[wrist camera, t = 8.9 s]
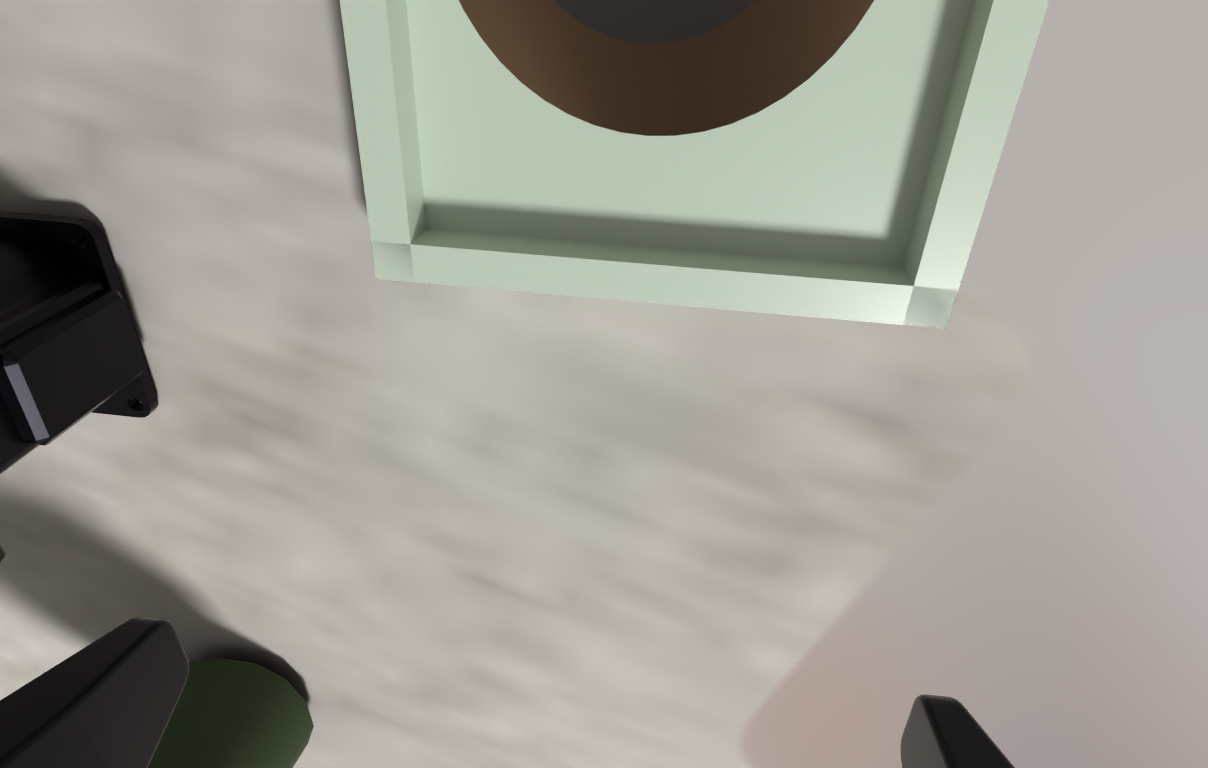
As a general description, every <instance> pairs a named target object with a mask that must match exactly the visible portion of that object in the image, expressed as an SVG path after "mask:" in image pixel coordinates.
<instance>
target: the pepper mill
mask: <svg viewBox="0 0 1208 768" xmlns="http://www.w3.org/2000/svg"><path fill="white" fill-rule="evenodd" d="M459 2H460V4H461V6H462V8H463V10H464V12H465V13H466V15H467V16H468V18H469V20H470V21H471V23H472V24H473V26H474V28H475V29H476V31H477V33H478V34H479V36H480V37H481V38H482V40H483V41H484V42H485V44H486V45H487V46H488V47H489V49H490V50H491V51H492V52H493V54H494V55H495V56H496V57H497V59H498V60H499V61H500V62H501V63H502V64H503V65H504V66H505V67H506V68H507V69H508V70H509V71H510V72H511V73H512V74H513V75H514V76H515V77H516V78H517V79H518V80H519V81H520V82H521V83H522V84H524V85H525V86H526V87H528V88H529V89H530V90H531V91H533V92H534V93H535V94H537V95H538V96H539V97H541V98H542V99H543V100H545V101H546V102H548V103H550V104H551V105H553V106H555V107H557V108H558V109H560V110H562V111H563V112H565V113H567V114H569V115H571V116H573V117H576V118H578V119H581V120H583V121H585V122H588V123H590V124H592V125H595V126H599V127H603V128H606V129H610V130H614V131H617V132H622V133H629V134H637V135H645V136H677V135H684V134H691V133H698V132H704V131H708V130H711V129H715V128H719V127H722V126H726V125H729V124H732V123H735V122H737V121H739V120H742V119H744V118H746V117H749V116H751V115H753V114H756V113H758V112H760V111H762V110H763V109H765V108H767V107H768V106H770V105H772V104H774V103H775V102H777V101H779V100H781V99H782V98H784V97H785V96H787V95H788V94H789V93H791V92H792V91H793V90H795V89H796V88H797V87H799V86H800V85H801V84H803V83H804V82H805V81H807V80H808V79H809V78H810V77H811V76H812V75H814V74H815V73H816V72H817V71H818V70H819V69H820V68H821V67H822V66H823V65H824V64H825V63H826V62H827V61H828V60H829V59H830V58H831V57H832V56H833V55H834V54H835V53H836V52H837V51H838V49H839V48H840V47H841V46H842V45H843V43H844V42H845V41H846V40H847V39H848V37H849V36H850V35H851V34H852V33H853V31H854V30H855V29H856V27H857V26H858V24H859V23H860V21H861V20H862V18H863V17H864V15H865V14H866V12H867V11H868V9H869V8H870V6H871V5H872V3H873V2H874V0H459Z"/></svg>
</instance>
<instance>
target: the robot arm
mask: <svg viewBox="0 0 1208 768" xmlns="http://www.w3.org/2000/svg"><path fill="white" fill-rule="evenodd" d="M80 233H81V234H82V235H83V236H85V238H86V240H87V242H86V241H85V240H83V239H82V237H81V235H80ZM137 399H138V400H139V401H140V402H139V401H138V400H137ZM157 406H158V398H157V395H156V392H155V389H154V386H153V383H152V380H151V377H150V373H149V370H148V367H147V364H146V361H145V358H144V355H143V352H142V349H141V346H140V343H139V340H138V337H137V333H136V330H135V327H134V324H133V321H132V318H131V315H130V312H129V309H128V306H127V303H126V300H125V297H124V293H123V290H122V287H121V284H120V281H119V278H118V275H117V272H116V269H115V266H114V263H113V260H112V257H111V254H110V250H109V247H108V244H107V241H106V238H105V236H104V234H103V232H102V230H101V229H100V228H99V227H98V226H97V225H96V224H95V223H93V222H92V221H90V220H87V219H83V218H72V217H60V216H48V215H36V214H24V213H12V212H0V474H1V473H2V472H4V471H5V470H6V469H8V468H9V467H10V466H12V465H13V464H14V463H16V462H17V461H18V460H20V459H21V458H23V457H24V456H25V455H27V454H28V453H29V452H31V451H32V450H33V449H35V448H36V447H37V446H39V445H47V444H49V443H51V442H52V441H53V440H55V439H56V438H57V437H58V436H60V435H61V434H62V433H64V432H65V431H66V430H68V429H69V428H70V427H72V426H73V425H74V424H76V423H77V422H78V421H80V420H81V419H82V418H84V417H85V416H86V415H88V414H89V413H90V412H93V413H102V414H112V415H121V416H130V417H146V416H148V415H149V414H150V413H151V412H153V411H154V410H155V409H156V408H157ZM5 554H6V553H5V551H4V550H3V548H2V547H1V545H0V562H1V560H2V559H3V558H4V556H5ZM188 674H189V661H188V658H187V656H186V653H185V651H184V649H183V646H182V644H181V642H180V639H179V637H178V635H177V632H176V630H175V628H174V626H173V624H172V623H171V622H170V621H168V620H166V619H159V618H149V617H137V618H133V619H131V620H129V621H127V622H125V623H123V624H122V625H120V626H119V627H117V628H115V629H114V630H112V631H111V632H109V633H107V634H106V635H104V636H103V637H101V638H99V639H98V640H96V641H95V642H93V643H91V644H90V645H88V646H87V647H85V648H83V649H82V650H80V651H79V652H77V653H75V654H74V655H72V656H71V657H69V658H67V659H66V660H64V661H63V662H61V663H60V664H58V665H56V666H55V667H53V668H52V669H50V670H48V671H47V672H45V673H44V674H42V675H40V676H39V677H37V678H36V679H34V680H32V681H31V682H29V683H28V684H26V685H24V686H23V687H21V688H20V689H18V690H16V691H15V692H13V693H12V694H10V695H8V696H7V697H5V698H4V699H2V700H0V768H148V766H149V764H150V761H151V759H152V757H153V755H154V753H155V750H156V748H157V746H158V744H159V741H160V739H161V737H162V735H163V733H164V730H165V728H166V726H167V724H168V722H169V719H170V717H171V715H172V713H173V711H174V708H175V706H176V704H177V702H178V700H179V697H180V695H181V693H182V691H183V689H184V686H185V684H186V681H187V678H188ZM901 762H902V768H1015V767H1014V766H1013V765H1012V764H1011V763H1010V761H1009V760H1008V759H1007V758H1006V757H1005V755H1004V754H1003V753H1002V752H1001V750H1000V749H999V748H998V747H997V746H996V744H995V743H994V742H993V741H992V740H991V739H990V737H989V736H988V735H987V734H986V733H985V731H984V730H983V729H982V728H981V726H980V725H979V724H978V723H977V722H976V720H975V719H974V718H973V717H972V716H971V714H970V713H969V712H968V711H967V709H966V708H965V707H964V706H963V705H962V704H961V703H960V702H959V701H958V700H956V699H954V698H951V697H945V696H935V695H920V696H918V697H917V698H916V699H915V701H914V704H913V707H912V709H911V713H910V715H909V718H908V721H907V724H906V727H905V729H904V732H903V735H902V739H901Z"/></svg>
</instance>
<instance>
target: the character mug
mask: <svg viewBox="0 0 1208 768" xmlns="http://www.w3.org/2000/svg"><path fill="white" fill-rule="evenodd" d="M312 729H313V722H312V719H311V716H310V713H309V709H308V706H307V703H306V701H305V700H304V699H303V698H302V697H301V696H300V695H299V693H298V692H297V691H296V690H295V689H294V688H293V687H292V685H291V684H290V683H289V682H288V681H287V680H286V679H285V678H283V677H281V676H279V675H277V674H275V673H273V672H271V671H269V670H267V669H265V668H264V667H262V666H260V665H258V664H256V663H252V662H245V661H238V660H231V659H223V658H216V659H210V660H205V661H199V662H194V663H189V674H188V678H187V681H186V684H185V686H184V689H183V691H182V693H181V695H180V697H179V700H178V702H177V704H176V706H175V708H174V711H173V713H172V715H171V717H170V719H169V722H168V724H167V726H166V728H165V730H164V733H163V735H162V737H161V739H160V741H159V744H158V746H157V748H156V750H155V753H154V755H153V757H152V759H151V761H150V764H149V766H148V768H293V766H294V765H295V763H296V761H297V760H298V758H299V757H300V755H301V753H302V752H303V750H304V749H305V747H306V745H307V744H308V741H309V738H310V735H311V732H312Z"/></svg>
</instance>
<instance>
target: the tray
mask: <svg viewBox="0 0 1208 768" xmlns="http://www.w3.org/2000/svg"><path fill="white" fill-rule="evenodd" d="M1048 3H1049V0H874V2H873V3H872V5H871V6H870V8H869V9H868V11H867V12H866V14H865V15H864V17H863V18H862V20H861V21H860V23H859V24H858V26H857V27H856V29H855V30H854V31H853V33H852V34H851V35H850V36H849V37H848V39H847V40H846V41H845V42H844V43H843V45H842V46H841V47H840V48H839V49H838V51H837V52H836V53H835V54H834V55H833V56H832V57H831V58H830V59H829V60H828V61H827V62H826V63H825V64H824V65H823V66H822V67H821V68H820V69H819V70H818V71H817V72H816V73H815V74H814V75H812V76H811V77H810V78H809V79H808V80H807V81H805V82H804V83H803V84H801V85H800V86H799V87H797V88H796V89H795V90H793V91H792V92H791V93H789V94H788V95H787V96H785V97H784V98H782V99H781V100H779V101H777V102H775V103H774V104H772V105H770V106H768V107H767V108H765V109H763V110H762V111H760V112H758V113H756V114H753V115H751V116H749V117H746V118H744V119H742V120H739V121H737V122H735V123H732V124H729V125H726V126H722V127H719V128H715V129H711V130H708V131H704V132H698V133H691V134H684V135H677V136H645V135H637V134H629V133H622V132H617V131H614V130H610V129H606V128H603V127H599V126H595V125H592V124H590V123H588V122H585V121H583V120H581V119H578V118H576V117H573V116H571V115H569V114H567V113H565V112H563V111H562V110H560V109H558V108H557V107H555V106H553V105H551V104H550V103H548V102H546V101H545V100H543V99H542V98H541V97H539V96H538V95H537V94H535V93H534V92H533V91H531V90H530V89H529V88H528V87H526V86H525V85H524V84H522V83H521V82H520V81H519V80H518V79H517V78H516V77H515V76H514V75H513V74H512V73H511V72H510V71H509V70H508V69H507V68H506V67H505V66H504V65H503V64H502V63H501V62H500V61H499V60H498V59H497V57H496V56H495V55H494V54H493V52H492V51H491V50H490V49H489V47H488V46H487V45H486V44H485V42H484V41H483V40H482V38H481V37H480V36H479V34H478V33H477V31H476V29H475V28H474V26H473V24H472V23H471V21H470V20H469V18H468V16H467V15H466V13H465V12H464V10H463V8H462V6H461V4H460V2H459V0H340V7H341V15H342V22H343V30H344V38H345V45H346V53H347V61H348V69H349V76H350V84H351V92H352V99H353V107H354V115H355V122H356V130H357V138H358V145H359V153H360V161H361V168H362V176H363V184H364V192H365V199H366V207H367V215H368V222H369V230H370V238H371V245H372V253H373V261H374V268H375V276H376V279H382V280H394V281H405V282H417V283H428V284H440V285H451V286H463V287H474V288H486V289H497V290H509V291H520V292H531V293H543V294H554V295H566V296H577V297H589V298H600V299H612V300H623V301H635V302H646V303H657V304H669V305H680V306H692V307H703V308H715V309H726V310H738V311H749V312H761V313H772V314H784V315H795V316H806V317H818V318H829V319H841V320H852V321H864V322H875V323H887V324H898V325H910V326H921V327H932V328H944V329H946V327H947V324H948V321H949V318H950V315H951V311H952V308H953V305H954V302H955V299H956V296H957V292H958V289H959V286H960V283H961V280H962V276H963V273H964V270H965V267H966V264H967V260H968V257H969V254H970V251H971V248H972V245H973V241H974V238H975V235H976V232H977V229H978V226H979V222H980V219H981V216H982V213H983V210H984V206H985V203H986V200H987V197H988V194H989V191H990V187H991V184H992V181H993V178H994V174H995V171H996V168H997V165H998V162H999V159H1000V156H1001V152H1002V149H1003V146H1004V143H1005V140H1006V137H1007V133H1008V130H1009V127H1010V124H1011V120H1012V117H1013V114H1014V111H1015V108H1016V104H1017V101H1018V98H1019V95H1020V92H1021V89H1022V85H1023V82H1024V79H1025V76H1026V73H1027V70H1028V67H1029V63H1030V60H1031V57H1032V54H1033V50H1034V47H1035V44H1036V41H1037V38H1038V34H1039V31H1040V28H1041V25H1042V22H1043V19H1044V15H1045V12H1046V9H1047V6H1048Z"/></svg>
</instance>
